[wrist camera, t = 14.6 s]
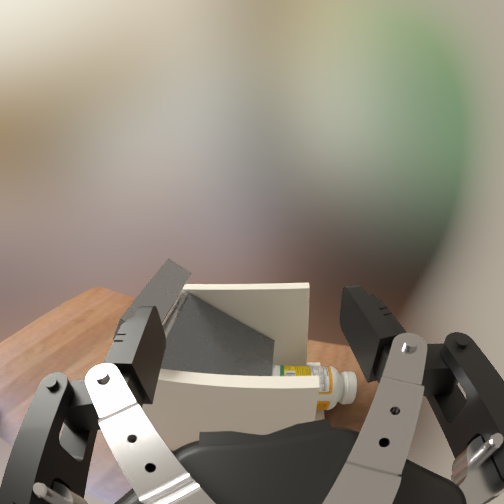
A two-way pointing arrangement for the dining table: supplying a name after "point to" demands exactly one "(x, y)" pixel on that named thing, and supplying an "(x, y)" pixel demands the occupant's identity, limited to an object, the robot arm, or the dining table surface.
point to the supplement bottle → (325, 383)
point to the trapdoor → (201, 330)
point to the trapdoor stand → (236, 386)
